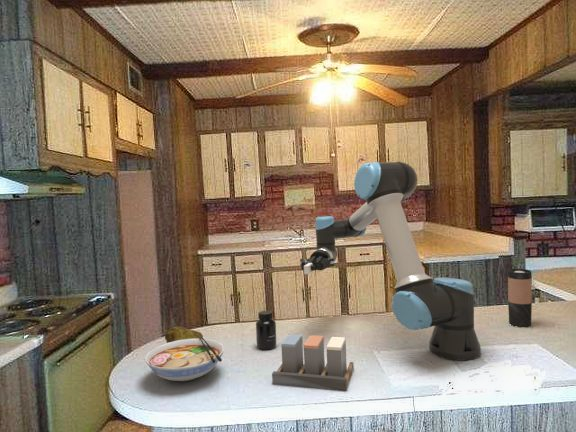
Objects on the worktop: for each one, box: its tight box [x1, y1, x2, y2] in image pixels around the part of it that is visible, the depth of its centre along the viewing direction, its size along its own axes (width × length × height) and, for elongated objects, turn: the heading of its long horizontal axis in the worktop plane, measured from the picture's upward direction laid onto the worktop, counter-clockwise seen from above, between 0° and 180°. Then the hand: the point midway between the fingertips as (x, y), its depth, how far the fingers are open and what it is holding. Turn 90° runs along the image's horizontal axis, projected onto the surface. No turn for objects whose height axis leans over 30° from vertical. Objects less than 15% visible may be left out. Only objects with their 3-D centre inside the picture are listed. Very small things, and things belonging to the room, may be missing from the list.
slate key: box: [280, 333, 304, 373], centre depth 126 cm, size 8×4×10 cm, turn 163°
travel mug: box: [507, 268, 533, 328], centre depth 158 cm, size 8×8×20 cm
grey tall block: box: [326, 336, 348, 377], centre depth 122 cm, size 8×4×10 cm, turn 163°
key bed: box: [271, 361, 355, 392], centre depth 123 cm, size 14×20×3 cm
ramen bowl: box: [144, 334, 225, 382], centre depth 127 cm, size 25×23×8 cm
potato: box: [164, 326, 204, 343], centre depth 149 cm, size 8×13×8 cm, turn 107°
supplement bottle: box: [255, 310, 277, 351], centre depth 147 cm, size 7×7×12 cm
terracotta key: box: [303, 335, 326, 375], centre depth 124 cm, size 8×4×10 cm, turn 163°
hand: (306, 270), depth 142 cm, fingers closed
